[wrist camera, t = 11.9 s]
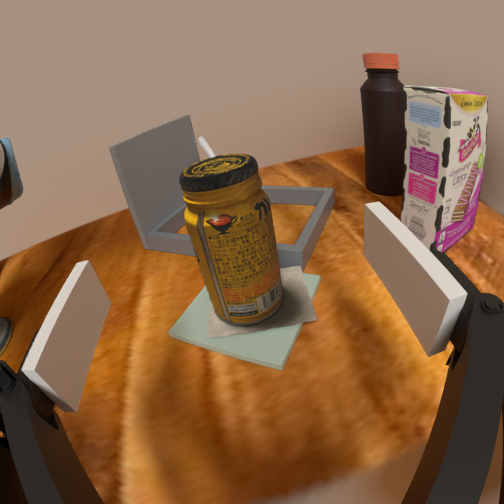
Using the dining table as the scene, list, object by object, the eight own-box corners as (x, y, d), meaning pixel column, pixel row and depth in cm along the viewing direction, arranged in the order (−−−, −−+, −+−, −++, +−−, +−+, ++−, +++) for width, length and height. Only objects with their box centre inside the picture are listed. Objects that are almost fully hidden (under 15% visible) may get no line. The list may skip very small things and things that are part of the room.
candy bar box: (433, 267, 25) (449, 91, 16) (396, 246, 29) (398, 84, 20) (476, 229, 29) (489, 93, 20) (445, 214, 32) (451, 86, 24)
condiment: (212, 281, 28) (176, 160, 22) (300, 266, 28) (285, 139, 22) (207, 340, 22) (154, 196, 16) (317, 323, 22) (307, 167, 15)
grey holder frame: (144, 249, 38) (108, 147, 30) (208, 194, 49) (189, 114, 42) (303, 271, 28) (286, 121, 21) (336, 199, 40) (327, 98, 32)
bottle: (362, 193, 40) (351, 52, 30) (368, 177, 45) (359, 55, 34) (408, 198, 37) (404, 53, 26) (408, 181, 42) (404, 56, 31)
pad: (170, 336, 24) (168, 332, 24) (225, 267, 31) (224, 262, 31) (282, 370, 20) (281, 365, 19) (320, 280, 27) (320, 275, 26)
